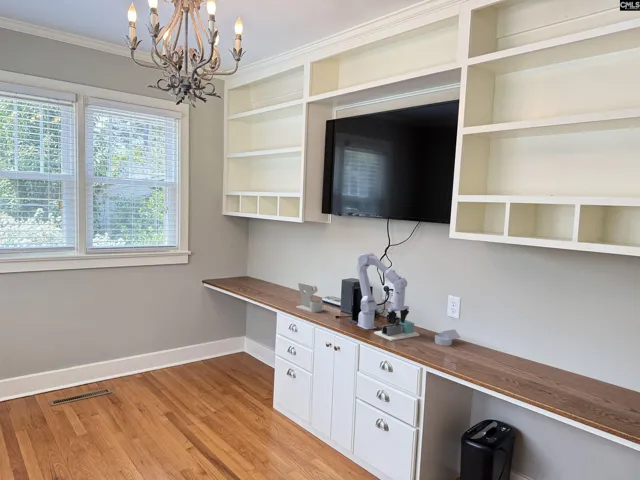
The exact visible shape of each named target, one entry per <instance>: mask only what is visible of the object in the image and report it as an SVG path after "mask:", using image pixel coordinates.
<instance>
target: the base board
mask: <svg viewBox="0 0 640 480" xmlns="http://www.w3.org/2000/svg"><path fill="white" fill-rule="evenodd" d="M373 334H374V335H376V336H379V337H381V338H384V339H387V341H397V340H402V339H409V338H415V337H419V336H420V333H418V332H416V331H414V332H413V333H407V334H405V333H402V332H401V334H397V335H392V336H386V335H383V334H382V330H378V331H377V330H376V331H373Z"/></svg>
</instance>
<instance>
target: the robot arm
mask: <svg viewBox="0 0 640 480" xmlns="http://www.w3.org/2000/svg"><path fill="white" fill-rule="evenodd" d="M370 266H375V267H376V268H377V269H379V271H380V272H382V273H384V277H385V278H386V279H387V280H388V281H389V282H390V283H392V284H393V288H394V295H393V296H394V299H393V306H391V307H388V308H387V314H388V316H389V320H390V324H395V323H396V317H397V314H398V313H397V311H398V312H399V314H400V321H401V322H402V323H404V321H405V320H406V319H407V316H408V314H409V313H410V311H409V309H410V306H408V305H405V299H406V298H405V296H406V288H407V286H408V281H407V279H406V278H405V277H402V276H401V275H399V274H398V273H397V272H396V270H395V269H391V268H390V269H389V268H388V267H387V266H386V265H385V264H384V263H383V262H382V261H381V260H380V259H379V258H378V256H377V255H375V254H374V253H373V252H368V253H361V254H360V255H359V256H358V257H357V267H356V271H357V277H358V280H359V281H358V282H359V286H360V291H361V296H362V298H361V300H360V310H361V311H360V312H358V316H357V317H358V318H357V319H358V320H357V322H358V323H357V324H356V326H357V327H359V328H362V329H364V330H368V331H369V330H373V329H377V326H375V313H376V310H378V309H377V308H378V304H377V302H376V299H375V297H374V296H373V295H372V291H371V290H372V289H371V286H370V280H369V276H368V268H369V267H370Z"/></svg>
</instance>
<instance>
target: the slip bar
mask: <svg viewBox="0 0 640 480" xmlns="http://www.w3.org/2000/svg"><path fill="white" fill-rule="evenodd" d="M400 321H401V319H395V323H396V325H399V322H400ZM402 331H404V325H401V332H402Z"/></svg>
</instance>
